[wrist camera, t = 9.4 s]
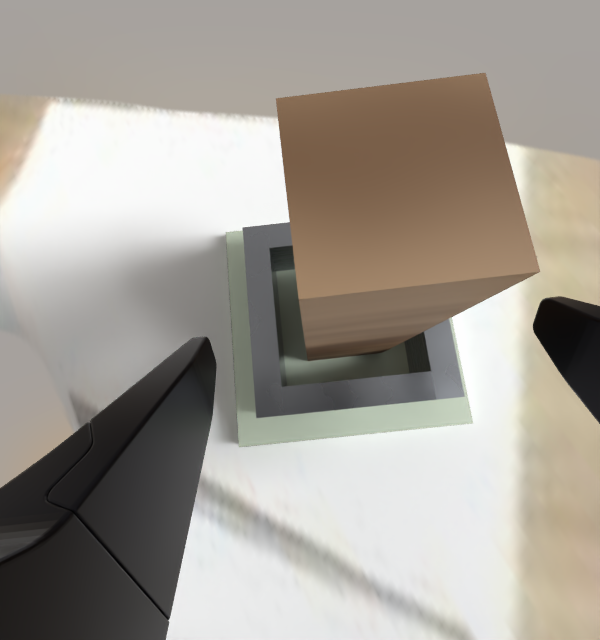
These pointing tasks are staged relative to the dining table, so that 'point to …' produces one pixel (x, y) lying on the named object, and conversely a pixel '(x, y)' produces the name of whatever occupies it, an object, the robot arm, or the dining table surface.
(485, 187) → the walnut post
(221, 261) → the dining table surface
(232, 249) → the base plate
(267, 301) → the steel collar
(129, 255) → the dining table surface
